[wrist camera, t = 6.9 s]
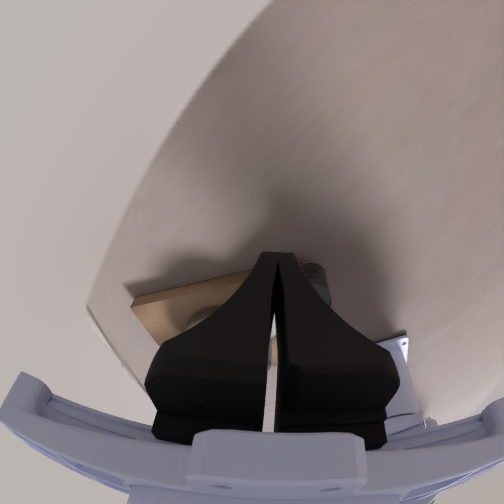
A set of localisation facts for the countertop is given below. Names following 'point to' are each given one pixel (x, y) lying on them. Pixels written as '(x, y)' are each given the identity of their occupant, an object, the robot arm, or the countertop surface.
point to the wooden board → (187, 306)
